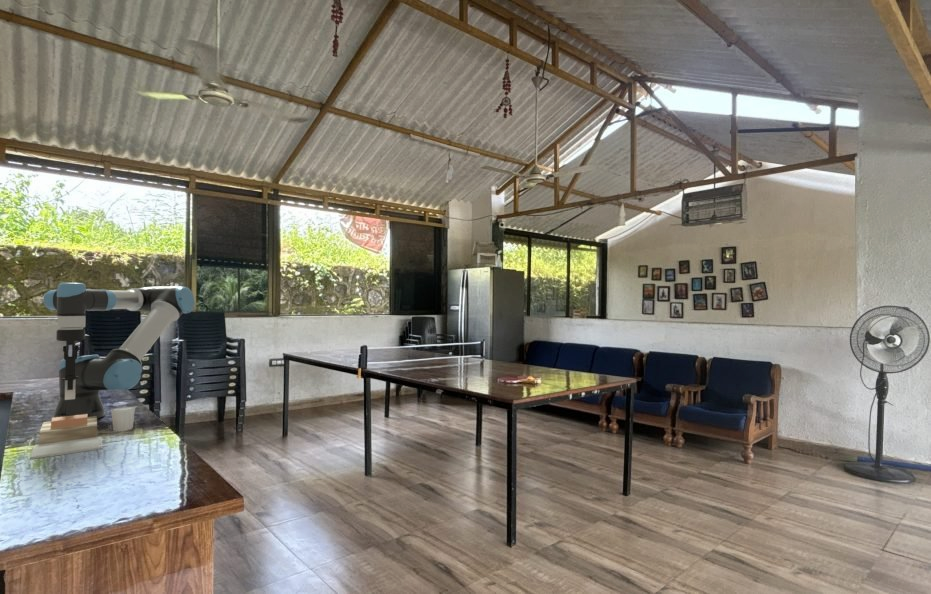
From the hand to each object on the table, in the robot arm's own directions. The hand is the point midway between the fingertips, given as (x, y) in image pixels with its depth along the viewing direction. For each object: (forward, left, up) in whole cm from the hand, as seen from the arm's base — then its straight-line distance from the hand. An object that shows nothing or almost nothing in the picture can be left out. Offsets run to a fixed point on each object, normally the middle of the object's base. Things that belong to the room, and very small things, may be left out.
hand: (70, 399), depth 166 cm
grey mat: (+23, 0, -11) cm, 26 cm away
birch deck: (+7, 0, -11) cm, 13 cm away
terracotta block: (+8, 0, -7) cm, 11 cm away
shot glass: (+6, +14, -11) cm, 19 cm away
